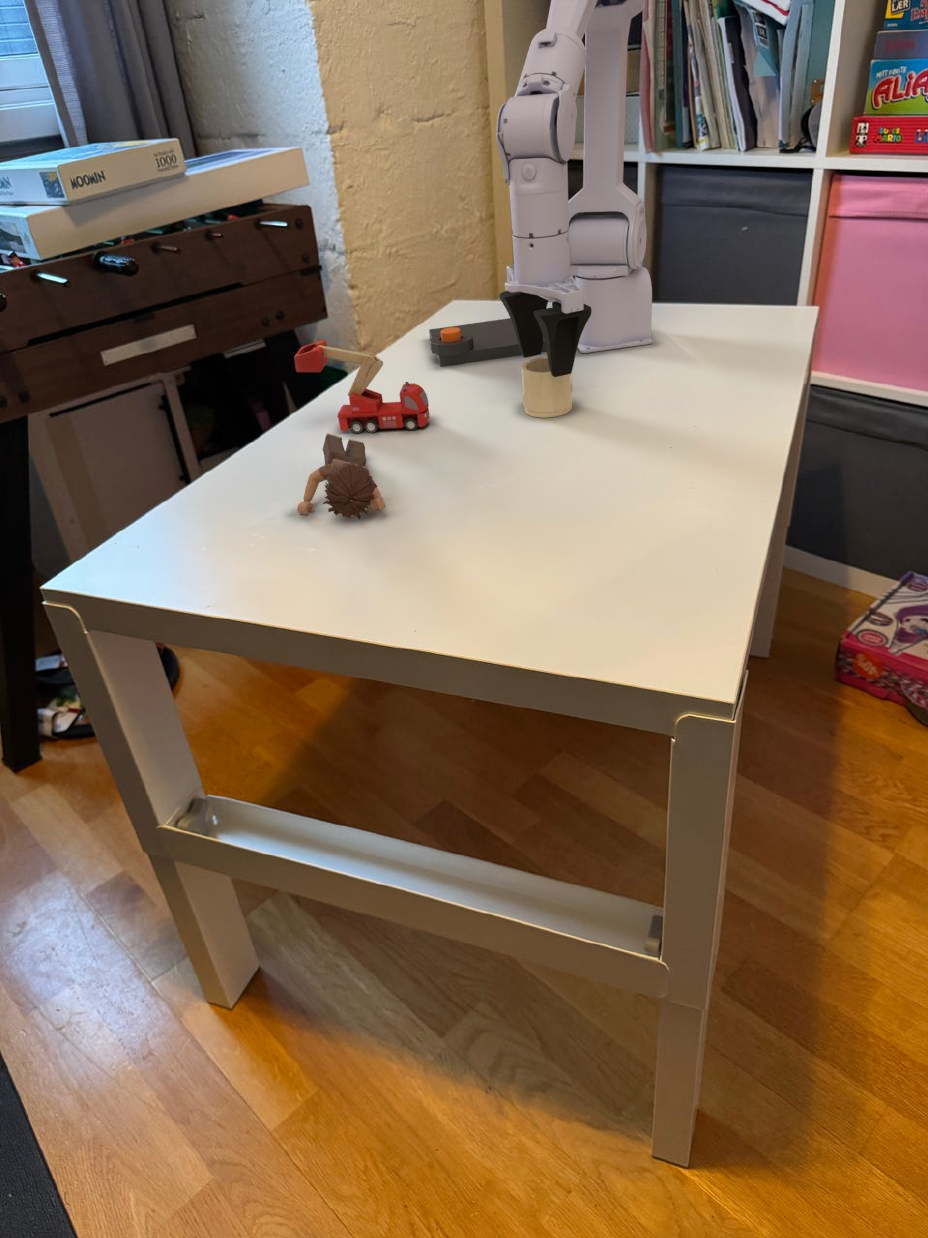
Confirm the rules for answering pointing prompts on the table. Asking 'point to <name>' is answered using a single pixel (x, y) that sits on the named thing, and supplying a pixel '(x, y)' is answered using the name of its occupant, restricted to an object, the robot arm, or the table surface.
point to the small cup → (545, 390)
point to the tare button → (450, 334)
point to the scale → (477, 343)
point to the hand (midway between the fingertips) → (546, 364)
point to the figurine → (343, 480)
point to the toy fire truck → (367, 392)
